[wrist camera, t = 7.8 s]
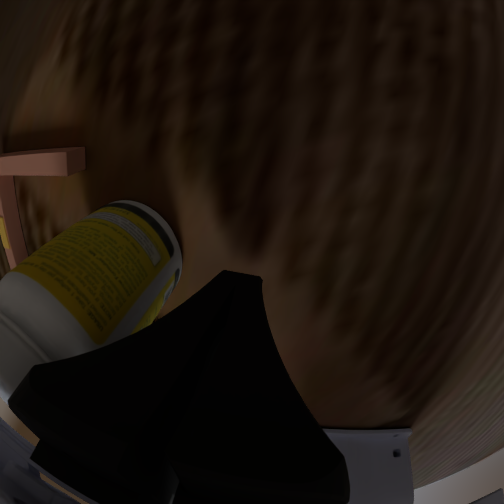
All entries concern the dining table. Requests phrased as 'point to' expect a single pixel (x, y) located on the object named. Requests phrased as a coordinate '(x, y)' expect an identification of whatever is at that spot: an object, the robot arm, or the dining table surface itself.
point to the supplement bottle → (86, 288)
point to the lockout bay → (29, 163)
